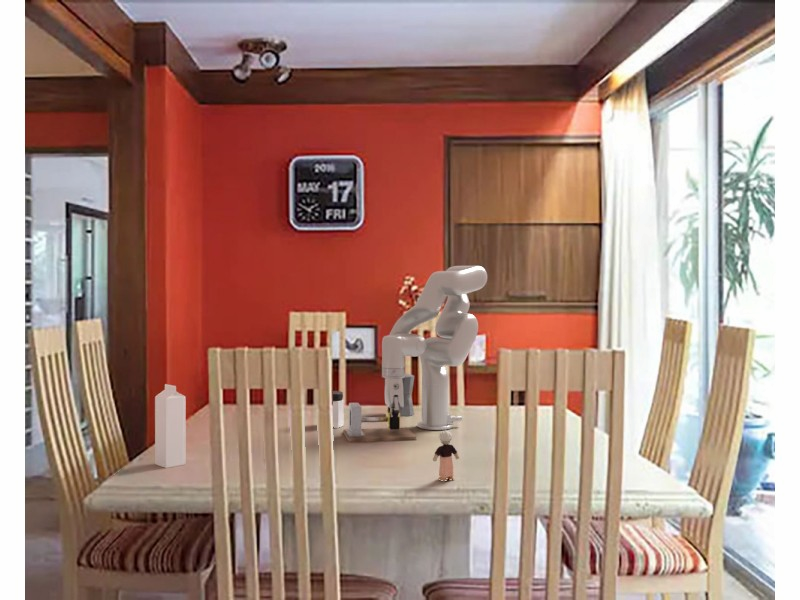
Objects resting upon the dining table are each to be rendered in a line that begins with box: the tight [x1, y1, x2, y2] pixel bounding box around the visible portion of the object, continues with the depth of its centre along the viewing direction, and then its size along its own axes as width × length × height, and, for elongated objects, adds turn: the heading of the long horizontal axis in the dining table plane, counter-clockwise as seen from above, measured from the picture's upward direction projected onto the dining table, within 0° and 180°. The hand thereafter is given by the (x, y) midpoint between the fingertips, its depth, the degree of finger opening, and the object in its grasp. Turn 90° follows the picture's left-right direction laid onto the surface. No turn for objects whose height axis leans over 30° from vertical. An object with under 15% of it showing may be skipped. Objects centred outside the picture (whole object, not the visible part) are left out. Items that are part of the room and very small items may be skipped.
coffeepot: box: [399, 372, 415, 417], centre depth 280 cm, size 15×9×18 cm, turn 178°
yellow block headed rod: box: [361, 410, 401, 428], centre depth 241 cm, size 14×5×5 cm, turn 101°
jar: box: [332, 390, 345, 429], centre depth 257 cm, size 9×8×12 cm
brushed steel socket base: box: [345, 402, 365, 437], centre depth 240 cm, size 5×10×10 cm, turn 11°
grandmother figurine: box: [432, 430, 460, 481], centre depth 188 cm, size 8×4×13 cm, turn 131°
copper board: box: [342, 427, 417, 443], centre depth 241 cm, size 22×15×1 cm
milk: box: [154, 383, 187, 469], centre depth 201 cm, size 6×6×22 cm
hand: (393, 426), depth 242 cm, fingers closed on yellow block headed rod, 4 cm apart
